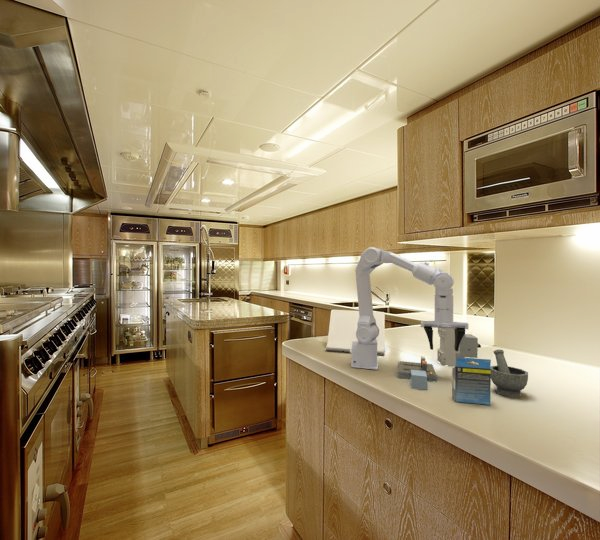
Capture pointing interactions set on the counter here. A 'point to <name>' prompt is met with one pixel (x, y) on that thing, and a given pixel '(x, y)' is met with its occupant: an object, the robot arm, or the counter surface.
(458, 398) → the label tape cartridge
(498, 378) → the mortar and pestle
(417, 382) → the cap
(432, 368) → the panel
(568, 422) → the counter surface
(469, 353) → the circuit breaker
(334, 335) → the tablet stand
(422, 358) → the plain lever
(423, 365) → the tagged lever
